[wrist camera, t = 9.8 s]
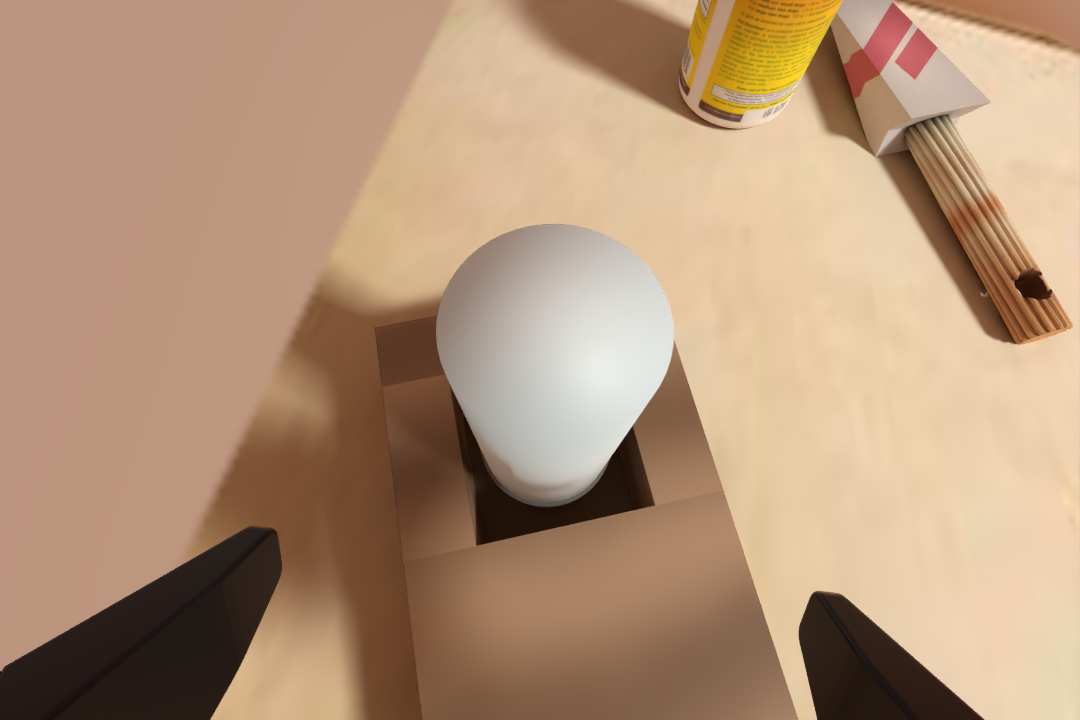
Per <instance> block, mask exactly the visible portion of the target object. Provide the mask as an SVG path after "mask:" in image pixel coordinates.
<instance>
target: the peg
mask: <svg viewBox="0 0 1080 720" xmlns="http://www.w3.org/2000/svg"><path fill="white" fill-rule="evenodd" d="M436 340H437V349H438V353H439V357H440V362H441V364H442V367H443V369H444V372H445V374H446V377H447V379H448V381H449V383H450V385H451V387H452V390H453V392H454V394H455V396H456V398H457V400H458V402H459V404H460V406H461V409H462V411H463V413H464V415H465V417H466V419H467V421H468V423H469V426H470V428H471V430H472V432H473V434H474V436H475V438H476V440H477V442H478V445H479V447H480V450H481V455H482V459H483V462H484V464H485V467H486V469H487V471H488V473H489V475H490V476H491V478H492V480H493V481H494V482H495V483H496V485H497V486H498V487H499V488H500V489H501V490H502V491H503V492H504V493H506V494H507V495H508V496H510V497H511V498H513V499H515V500H517V501H518V502H520V503H523V504H525V505H528V506H532V507H537V508H554V507H559V506H562V505H566V504H569V503H571V502H573V501H575V500H577V499H579V498H581V497H582V496H584V495H585V494H586V493H587V492H589V491H590V490H591V489H592V488H593V487H594V486H595V484H596V483H597V482H598V481H599V479H600V478H601V476H602V475H603V473H604V471H605V469H606V467H607V465H608V462H609V459H610V457H611V456H612V455H613V453H614V452H615V450H616V449H617V447H618V446H619V444H620V443H621V442H622V440H623V439H624V437H625V436H626V434H627V433H628V431H629V430H630V429H631V427H632V426H633V424H634V423H635V421H636V420H637V418H638V417H639V416H640V414H641V413H642V411H643V410H644V408H645V407H646V405H647V404H648V402H649V401H650V400H651V398H652V397H653V395H654V394H655V392H656V391H657V389H658V388H659V387H660V385H661V383H662V381H663V379H664V377H665V375H666V373H667V370H668V366H669V363H670V360H671V356H672V350H673V345H674V327H673V318H672V313H671V309H670V305H669V302H668V299H667V297H666V294H665V292H664V290H663V288H662V286H661V284H660V283H659V281H658V279H657V277H656V276H655V275H654V273H653V272H652V271H651V269H650V268H649V267H648V266H647V265H646V264H645V262H644V261H643V260H642V259H641V258H640V257H639V256H638V255H636V254H635V253H634V252H633V251H631V250H630V249H629V248H628V247H626V246H625V245H623V244H621V243H620V242H618V241H616V240H615V239H613V238H611V237H609V236H606V235H604V234H602V233H600V232H597V231H594V230H591V229H588V228H583V227H578V226H574V225H564V224H543V225H534V226H528V227H524V228H520V229H516V230H513V231H511V232H508V233H505V234H503V235H501V236H499V237H497V238H495V239H493V240H491V241H489V242H488V243H486V244H485V245H483V246H482V247H480V248H479V249H477V250H476V251H475V252H474V253H473V254H472V255H470V256H469V257H468V258H467V259H466V260H465V261H464V263H463V264H462V265H461V266H460V267H459V268H458V269H457V271H456V272H455V274H454V275H453V277H452V278H451V280H450V282H449V283H448V285H447V287H446V289H445V291H444V294H443V297H442V300H441V302H440V305H439V310H438V315H437V323H436Z"/></svg>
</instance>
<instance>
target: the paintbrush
mask: <svg viewBox="0 0 1080 720" xmlns="http://www.w3.org/2000/svg"><path fill="white" fill-rule="evenodd" d="M830 25H831V28H832V31H833V35H834V38H835V41H836V44H837V47H838V50H839V54H840V57H841V60H842V63H843V66H844V69H845V73H846V76H847V79H848V82H849V85H850V88H851V92H852V95H853V98H854V101H855V104H856V107H857V111H858V114H859V117H860V120H861V123H862V126H863V130H864V133H865V136H866V139H867V142H868V144H869V146H870V148H871V150H872V152H873V154H874V156H875V157H878V156H882V155H887V154H892V153H897V152H901V151H906V150H910V151H911V153H912V155H913V157H914V159H915V161H916V163H917V165H918V166H919V168H920V170H921V172H922V174H923V176H924V177H925V179H926V181H927V183H928V185H929V186H930V188H931V190H932V192H933V194H934V196H935V197H936V199H937V201H938V203H939V205H940V207H941V208H942V210H943V212H944V214H945V215H946V217H947V219H948V221H949V223H950V224H951V226H952V228H953V230H954V232H955V233H956V235H957V237H958V239H959V241H960V242H961V244H962V246H963V248H964V250H965V251H966V253H967V255H968V257H969V259H970V260H971V262H972V264H973V266H974V267H975V269H976V271H977V273H978V275H979V276H980V278H981V280H982V282H983V284H984V285H985V287H986V289H987V291H988V293H989V294H990V296H991V298H992V300H993V302H994V303H995V305H996V307H997V309H998V311H999V313H1000V315H1001V317H1002V319H1003V321H1004V322H1005V324H1006V326H1007V328H1008V330H1009V332H1010V334H1011V335H1012V337H1013V339H1014V341H1015V343H1017V344H1025V343H1029V342H1033V341H1037V340H1040V339H1043V338H1047V337H1049V336H1052V335H1055V334H1058V333H1060V332H1063V331H1066V330H1067V329H1070V328H1071V327H1073V326H1072V322H1071V321H1070V319H1069V317H1068V316H1067V314H1066V313H1065V311H1064V309H1063V308H1062V306H1061V304H1060V303H1059V301H1058V299H1057V298H1056V296H1055V294H1054V293H1053V291H1052V290H1051V289H1050V288H1049V286H1048V284H1047V283H1046V281H1045V279H1044V278H1043V276H1042V273H1041V271H1040V269H1039V268H1038V266H1037V264H1036V263H1035V261H1034V259H1033V258H1032V256H1031V255H1030V253H1029V251H1028V250H1027V248H1026V246H1025V245H1024V243H1023V241H1022V239H1021V238H1020V236H1019V234H1018V233H1017V231H1016V229H1015V227H1014V226H1013V224H1012V222H1011V220H1010V219H1009V217H1008V215H1007V214H1006V212H1005V210H1004V208H1003V207H1002V205H1001V203H1000V201H999V200H998V198H997V196H996V194H995V193H994V191H993V189H992V188H991V186H990V184H989V182H988V181H987V179H986V177H985V176H984V174H983V172H982V170H981V169H980V167H979V165H978V164H977V162H976V160H975V159H974V157H973V155H972V153H971V152H970V150H969V148H968V147H967V145H966V143H965V142H964V140H963V138H962V137H961V135H960V133H959V131H958V130H957V128H956V126H955V125H956V123H957V121H958V119H959V117H960V116H962V115H964V114H967V113H969V112H971V111H973V110H975V109H977V108H979V107H982V106H984V105H986V104H988V103H990V101H989V100H988V99H987V98H986V97H985V96H984V95H983V94H982V93H981V91H980V90H979V89H978V88H977V87H976V86H975V85H974V84H973V83H972V82H971V81H970V80H969V79H968V78H967V77H966V76H965V75H964V74H963V73H962V72H961V71H960V70H959V69H958V68H957V67H956V66H955V65H954V64H953V63H952V62H951V61H950V60H949V59H948V58H947V57H946V56H945V55H944V54H943V53H942V52H941V51H940V50H939V49H938V48H937V47H936V46H935V45H934V44H933V43H932V42H931V41H930V40H929V39H928V38H927V37H926V36H925V35H924V33H923V32H922V31H921V30H920V29H919V28H918V27H917V26H916V25H915V24H914V23H913V22H912V21H911V20H910V19H909V18H908V17H907V16H906V15H905V14H904V13H903V12H902V11H901V10H900V9H899V8H898V7H897V6H896V5H895V4H894V3H893V2H892V1H891V0H843V1H842V3H841V5H840V7H839V9H838V11H837V13H836V15H835V16H834V18H833V20H832V22H831V24H830ZM1016 289H1018V290H1019V291H1020V293H1021V295H1022V296H1023V297H1022V296H1021V295H1020V294H1019V292H1018V291H1017V290H1016Z"/></svg>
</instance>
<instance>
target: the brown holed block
mask: <svg viewBox="0 0 1080 720" xmlns="http://www.w3.org/2000/svg"><path fill="white" fill-rule="evenodd" d="M436 323H437V316H434V317H428V318H423V319H418V320H413V321H407V322H402V323H397V324H392V325H387V326H381V327H376V328H375V333H376V341H377V350H378V358H379V366H380V374H381V383H382V391H383V399H384V408H385V416H386V424H387V432H388V441H389V449H390V457H391V466H392V474H393V482H394V490H395V499H396V507H397V515H398V524H399V532H400V540H401V549H402V557H403V565H404V573H405V582H406V590H407V598H408V607H409V615H410V623H411V631H412V640H413V648H414V656H415V665H416V673H417V681H418V689H419V698H420V706H421V714H422V720H798V717H797V714H796V711H795V708H794V705H793V702H792V699H791V696H790V693H789V690H788V687H787V684H786V681H785V678H784V675H783V672H782V668H781V665H780V662H779V659H778V656H777V653H776V650H775V647H774V644H773V641H772V638H771V635H770V632H769V629H768V626H767V623H766V620H765V617H764V613H763V610H762V607H761V604H760V601H759V598H758V595H757V592H756V589H755V586H754V583H753V580H752V577H751V574H750V571H749V568H748V565H747V561H746V558H745V555H744V552H743V549H742V546H741V543H740V540H739V537H738V534H737V531H736V528H735V525H734V522H733V519H732V516H731V513H730V510H729V506H728V503H727V500H726V497H725V494H724V491H723V488H722V485H721V482H720V479H719V476H718V473H717V470H716V467H715V464H714V461H713V458H712V454H711V451H710V448H709V445H708V442H707V439H706V436H705V433H704V430H703V427H702V424H701V421H700V418H699V415H698V412H697V409H696V406H695V403H694V399H693V396H692V393H691V390H690V387H689V384H688V381H687V378H686V375H685V372H684V369H683V366H682V363H681V360H680V357H679V354H678V351H677V348H676V344H675V341H674V345H673V350H672V356H671V360H670V363H669V366H668V370H667V373H666V375H665V377H664V379H663V381H662V383H661V385H660V387H659V388H658V389H657V391H656V392H655V394H654V395H653V397H652V398H651V400H650V401H649V402H648V404H647V405H646V407H645V408H644V410H643V411H642V413H641V414H640V416H639V417H638V418H637V420H636V421H635V423H634V424H633V426H632V427H631V429H630V430H629V431H628V433H627V434H626V436H625V437H624V439H623V440H622V442H621V443H620V444H619V446H618V449H619V453H620V457H621V460H622V464H623V468H624V472H625V475H626V479H627V483H628V487H629V490H630V494H631V498H632V502H633V505H634V509H635V510H633V511H629V512H624V513H620V514H615V515H611V516H607V517H602V518H598V519H593V520H589V521H584V522H580V523H576V524H571V525H567V526H562V527H558V528H553V529H549V530H545V531H540V532H536V533H531V534H527V535H522V536H518V537H514V538H509V539H505V540H500V541H496V542H491V543H487V544H485V539H484V533H483V527H482V522H481V516H480V510H479V504H478V498H477V492H476V487H475V481H474V475H473V469H472V463H471V458H470V452H469V446H468V440H467V434H466V428H465V423H464V417H463V411H462V409H461V406H460V404H459V402H458V400H457V398H456V396H455V394H454V392H453V390H452V387H451V385H450V383H449V381H448V379H447V377H446V374H445V372H444V369H443V367H442V364H441V362H440V357H439V353H438V349H437V340H436Z"/></svg>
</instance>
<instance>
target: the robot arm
mask: <svg viewBox="0 0 1080 720" xmlns="http://www.w3.org/2000/svg"><path fill="white" fill-rule="evenodd" d="M281 571H282V561H281V554H280V547H279V541H278V535H277V532H276V531H275V530H274V529H272V528H267V527H258V526H250V527H248V528H246V529H244V530H242V531H240V532H238V533H237V534H235V535H233V536H231V537H230V538H228V539H226V540H225V541H223V542H221V543H219V544H218V545H216V546H214V547H212V548H211V549H209V550H207V551H205V552H204V553H202V554H200V555H198V556H197V557H195V558H193V559H191V560H190V561H188V562H186V563H184V564H183V565H181V566H179V567H177V568H176V569H174V570H172V571H170V572H169V573H167V574H165V575H164V576H162V577H160V578H158V579H157V580H155V581H153V582H151V583H150V584H148V585H146V586H144V587H143V588H141V589H139V590H137V591H136V592H134V593H132V594H130V595H129V596H127V597H125V598H123V599H122V600H120V601H118V602H117V603H115V604H113V605H111V606H109V607H108V608H106V609H104V610H102V611H101V612H99V613H97V614H96V615H94V616H92V617H90V618H89V619H87V620H85V621H83V622H82V623H80V624H78V625H76V626H75V627H73V628H71V629H70V630H68V631H66V632H64V633H62V634H61V635H59V636H57V637H56V638H54V639H52V640H50V641H48V642H47V643H45V644H43V645H42V646H40V647H38V648H36V649H34V650H33V651H31V652H29V653H27V654H26V655H24V656H22V657H21V658H19V659H17V660H15V661H14V662H12V663H10V664H8V665H7V666H5V667H4V668H3V670H2V672H1V671H0V720H210V719H211V717H212V715H213V714H214V712H215V710H216V708H217V707H218V705H219V703H220V701H221V700H222V698H223V696H224V694H225V693H226V691H227V689H228V687H229V686H230V684H231V682H232V680H233V678H234V677H235V675H236V673H237V671H238V669H239V667H240V665H241V663H242V661H243V659H244V657H245V655H246V653H247V650H248V648H249V646H250V644H251V641H252V639H253V637H254V635H255V633H256V630H257V628H258V626H259V624H260V621H261V619H262V617H263V615H264V612H265V610H266V608H267V606H268V603H269V601H270V599H271V597H272V595H273V592H274V590H275V588H276V586H277V583H278V581H279V579H280V575H281ZM799 641H800V646H801V650H802V655H803V659H804V663H805V668H806V672H807V676H808V681H809V685H810V689H811V694H812V698H813V702H814V707H815V711H816V716H817V720H984V719H983V718H982V717H981V716H980V715H979V714H978V713H976V712H975V711H974V710H973V709H972V708H971V707H970V706H968V705H967V704H966V703H965V702H964V701H963V700H962V699H960V698H959V697H958V696H957V695H956V694H955V693H954V692H952V691H951V690H950V689H949V688H948V687H947V686H946V685H945V684H943V683H942V682H941V681H940V680H939V679H938V678H937V677H935V676H934V675H933V674H932V673H931V672H930V671H929V670H927V669H926V668H925V667H924V666H923V665H922V664H921V663H920V662H918V661H917V660H916V659H915V658H914V657H913V656H912V655H910V654H909V653H908V652H907V651H906V650H905V649H904V648H902V647H901V646H900V645H899V644H898V643H897V642H896V641H895V640H893V639H892V638H891V637H890V636H889V635H888V634H887V633H885V632H884V631H883V630H882V629H881V628H880V627H879V626H877V625H876V624H875V623H874V622H873V621H872V620H871V619H870V618H868V617H867V616H866V615H865V614H864V613H863V612H862V611H860V610H859V609H858V608H857V607H856V606H855V605H854V604H852V603H851V602H850V601H849V600H848V599H847V598H846V597H844V596H843V595H841V594H838V593H833V592H824V591H815V592H814V593H813V594H812V595H811V597H810V599H809V602H808V604H807V607H806V610H805V612H804V615H803V618H802V620H801V623H800V626H799Z"/></svg>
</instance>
